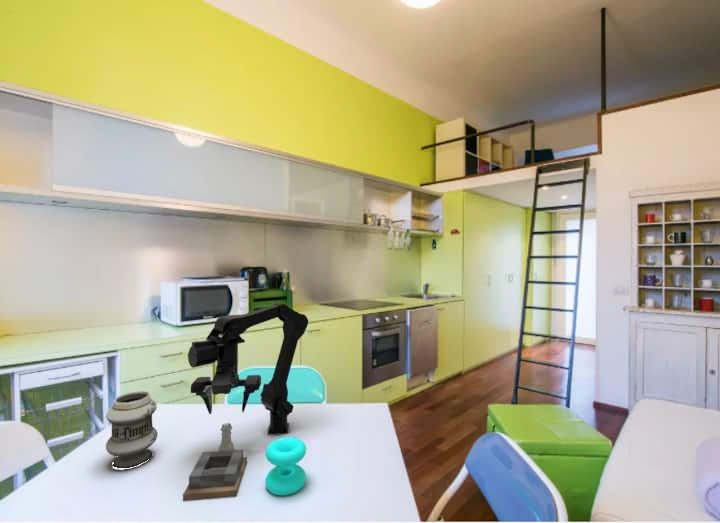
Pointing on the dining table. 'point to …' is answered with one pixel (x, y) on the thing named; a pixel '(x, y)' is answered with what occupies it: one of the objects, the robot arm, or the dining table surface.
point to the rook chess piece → (226, 438)
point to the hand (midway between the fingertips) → (226, 412)
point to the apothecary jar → (131, 429)
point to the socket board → (216, 475)
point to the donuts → (285, 466)
